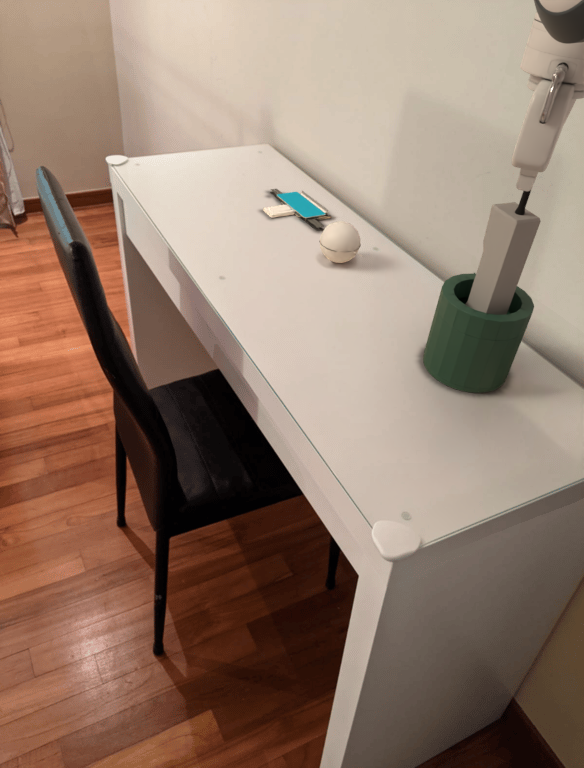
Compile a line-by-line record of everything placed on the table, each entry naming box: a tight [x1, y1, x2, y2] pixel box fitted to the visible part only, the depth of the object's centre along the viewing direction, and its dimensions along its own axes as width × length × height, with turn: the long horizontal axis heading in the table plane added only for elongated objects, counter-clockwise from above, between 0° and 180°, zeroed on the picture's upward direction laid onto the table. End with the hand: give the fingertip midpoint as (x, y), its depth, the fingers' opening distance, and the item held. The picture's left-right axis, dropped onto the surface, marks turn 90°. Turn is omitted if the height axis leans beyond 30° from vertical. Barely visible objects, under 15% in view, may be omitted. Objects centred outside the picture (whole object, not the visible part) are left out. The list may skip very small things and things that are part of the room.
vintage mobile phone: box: [465, 189, 541, 315], centre depth 78 cm, size 4×5×25 cm
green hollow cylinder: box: [422, 273, 535, 394], centre depth 86 cm, size 12×12×12 cm
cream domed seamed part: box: [319, 220, 364, 264], centre depth 109 cm, size 10×7×7 cm
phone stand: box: [262, 188, 332, 232], centre depth 127 cm, size 20×12×2 cm, turn 30°
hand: (524, 185), depth 72 cm, fingers closed on vintage mobile phone
